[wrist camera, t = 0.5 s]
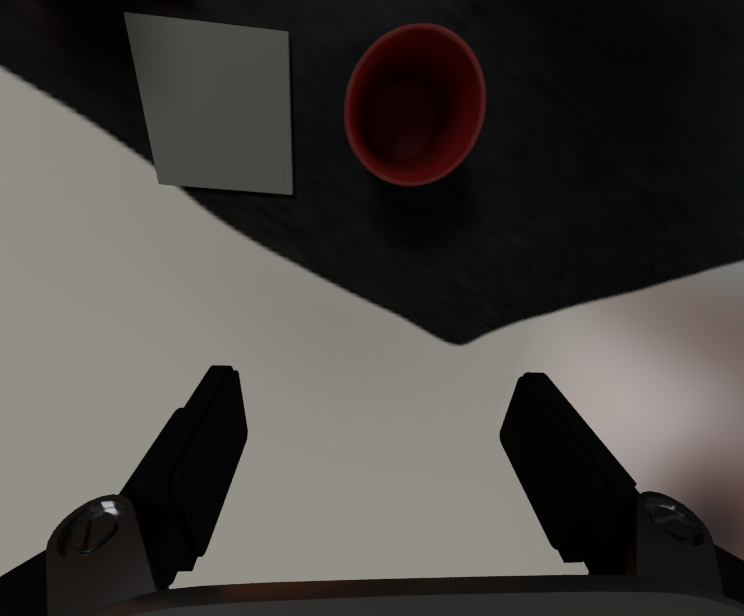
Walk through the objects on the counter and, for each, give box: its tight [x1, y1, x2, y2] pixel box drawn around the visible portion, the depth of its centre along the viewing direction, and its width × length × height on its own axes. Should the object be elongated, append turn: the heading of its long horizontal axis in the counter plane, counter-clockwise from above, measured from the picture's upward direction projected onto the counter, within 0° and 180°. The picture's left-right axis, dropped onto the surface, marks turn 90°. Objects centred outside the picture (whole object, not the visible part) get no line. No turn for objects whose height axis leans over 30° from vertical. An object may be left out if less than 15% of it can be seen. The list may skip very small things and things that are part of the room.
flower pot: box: [344, 23, 486, 187], centre depth 29 cm, size 11×11×10 cm
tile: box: [124, 12, 293, 195], centre depth 32 cm, size 14×14×1 cm
